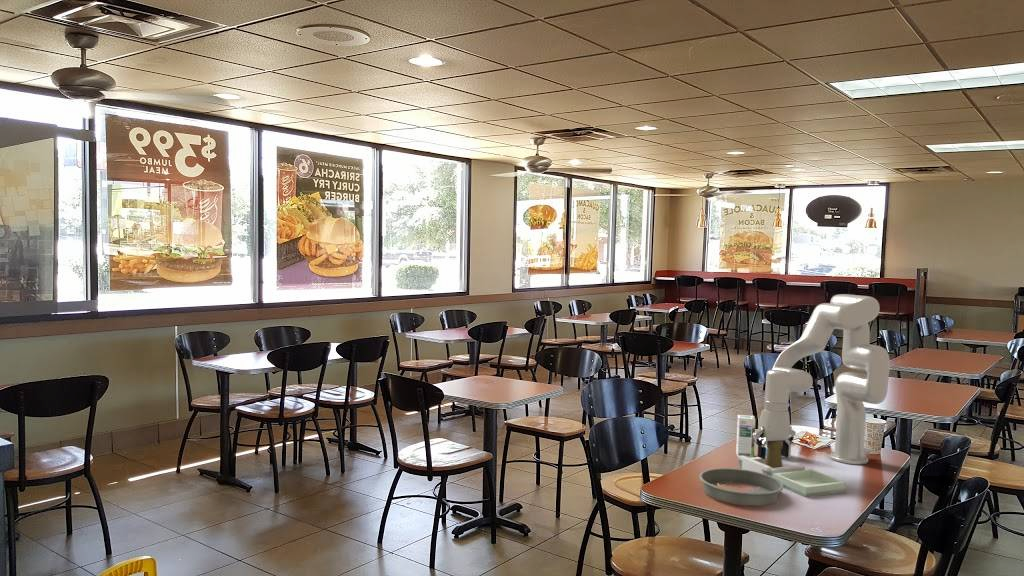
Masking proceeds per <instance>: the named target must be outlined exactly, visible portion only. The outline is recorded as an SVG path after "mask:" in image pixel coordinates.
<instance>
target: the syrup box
mask: <svg viewBox="0 0 1024 576" xmlns="http://www.w3.org/2000/svg"><path fill="white" fill-rule="evenodd" d="M736 425H737V427H736V446H735V447H736V448H735V449H736V450H735V453H736V456H737V458H738V456H746V457H748V458H751V457H755V441H754V437H753V433H754V432H756V417H755V415H745V414H738V415H737V424H736Z"/></svg>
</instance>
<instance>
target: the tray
mask: <svg viewBox="0 0 1024 576" xmlns="http://www.w3.org/2000/svg"><path fill="white" fill-rule="evenodd" d="M773 477H774V478H776V479H778V480H779V481H781V482H782V483H783V485H784V487H783V489H786V490H788V491H790V492H793V493H795V494H798V495H799V496H802V497H804V498H810V497H817V496H825V495H830V494H831V495H832V494H833V495H834V494H839V493H840V494H841V493H846V485H847V483H846V481H843V480H840V479H838V478H835V477H833V476H830V475H828V474H825V473H822V472H820V471H817V470H814V469H813V468H811V469H805V470H801V471H792V472H783V473H775V474H773Z"/></svg>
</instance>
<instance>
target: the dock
mask: <svg viewBox="0 0 1024 576" xmlns="http://www.w3.org/2000/svg"><path fill="white" fill-rule="evenodd" d="M737 459H738V460H737V469H744V470H750V471H755V472H759V473H763V474H766V475H769V476H772V477H773V474H775V473H783V472H792V471H801V470H806V466H804V465H802V464H798V465H797V464H795V465H787V466H782V467H777V468H772V467H770V466H767V465H765V461H766V458H765V459H762V458H759V457H758V456H754V457H751V458H748V457H746V456H738V457H737Z"/></svg>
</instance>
